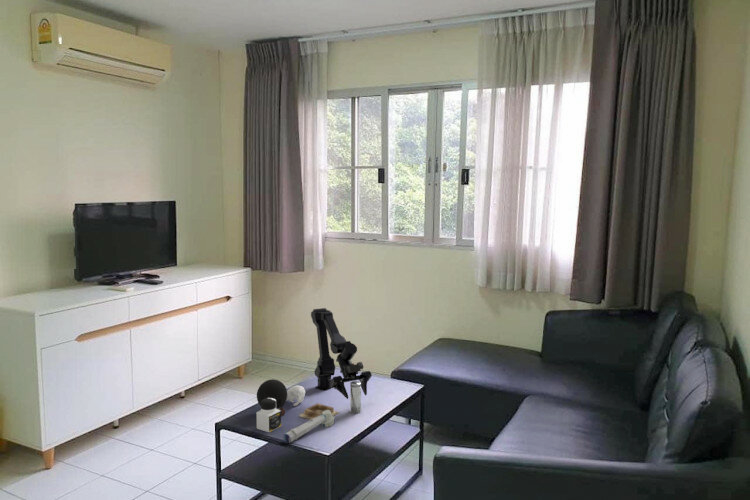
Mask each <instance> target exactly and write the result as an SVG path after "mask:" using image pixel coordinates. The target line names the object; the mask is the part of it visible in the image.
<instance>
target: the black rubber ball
mask: <svg viewBox="0 0 750 500" xmlns="http://www.w3.org/2000/svg"><path fill="white" fill-rule="evenodd" d="M287 391H288V390H287V387H286V385H285V384H284V383H283V382H282V381H280V380H278V379H272V378H271V379H268V380H265V381H263V382H262V383H260V386H259V387H258V389H257V391H256V400H257V403H258V404H259V406H260V407H261V401H262V400H263V399H265V398H273V399H275V400H276V409H278V410H281V418H282V417H283V416H285V415H286V409H285V408H284V407H283V406H284V405H285V403H286V402H287V401H286V399H287Z"/></svg>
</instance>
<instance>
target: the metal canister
mask: <svg viewBox="0 0 750 500" xmlns="http://www.w3.org/2000/svg"><path fill="white" fill-rule="evenodd" d="M349 398H350V401H349V402H350V409H349V410H350V411H349V412H350V413H351V414H361V411H362V409H361V408H362V388H361V382H360V381H359V380H355V381H350V396H349Z"/></svg>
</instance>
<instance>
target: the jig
mask: <svg viewBox="0 0 750 500" xmlns="http://www.w3.org/2000/svg"><path fill="white" fill-rule="evenodd" d="M325 410H330V411H331V414H332V415H333V416H334V417H335V416H337V415H339V411H337V410H334V407H332V406H329V405H325V404H322V403H318V402H317V403H315V404H314V405H311V406H310V407H307V408H305V409H304V410H303V411H304V412H302V413H300V414H299V417H300V418H303V419H306V420H308V421H310V420H312V419H314V418H316V417H318V416H320V415H321V414H322V412H323V411H325Z"/></svg>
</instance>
